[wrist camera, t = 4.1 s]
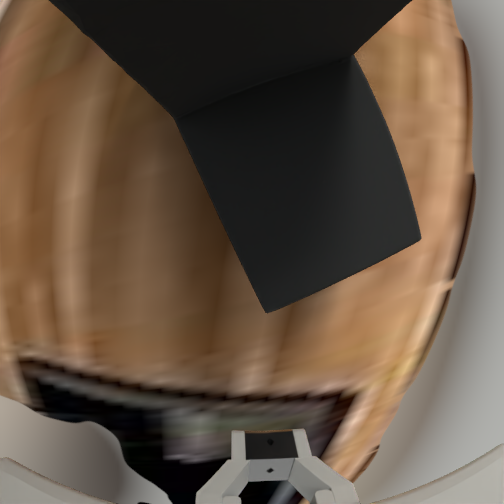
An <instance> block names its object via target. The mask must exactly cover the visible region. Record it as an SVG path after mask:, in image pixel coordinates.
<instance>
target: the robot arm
mask: <svg viewBox="0 0 504 504" xmlns="http://www.w3.org/2000/svg"><path fill="white" fill-rule="evenodd" d="M274 480H288V481H289V482H290V483H291V484H292V485H293V486H294V487H295V488H296V489H297V490H298V491H299V492H300V493H301V494H302V495H303V496H304V497H305V498H306V499H307V500H308V501H309V502H310V504H360V501H359V498H358V496H357V493H356V490H355V488H354V485H353V483H351V482H350V481H348V480H347V479H346V478H344V477H343V476H341V475H340V474H339V473H337V472H336V471H334V470H333V469H332V468H330V467H329V466H328V465H326V464H325V463H324V462H322V461H321V460H320V459H318V458H317V457H316V456H312V454H311V451H310V447H309V443H308V440H307V436H306V432H305V430H304V429H292V430H291V429H289V430H271V431H238V430H232V443H231V460H227V461H226V463H225V464H224V465H223V466H222V467H221V468H220V469H219V470H218V471H217V472H216V473H215V474H214V476H213V477H212V478H211V479H210V480H209V481H208V482H207V483H206V484H205V485H204V486H203V487H202V488H201V489H200V490H199V491H198V492H197V494H196V504H241V498H239V497H238V495H239V494H240V493H241V491H242V490H243V488H244V487H245V486H246V484H247V483H248V482H249V481H274ZM0 504H117V503H113V502H109V501H106V500H103V499H100V498H96V497H94V496H91V495H88V494H85V493H82V492H80V491H77V490H75V489H72V488H69V487H67V486H64V485H62V484H60V483H57V482H55V481H53V480H51V479H49V478H46V477H44V476H42V475H40V474H38V473H36V472H34V471H32V470H30V469H28V468H27V467H25V466H23V465H21V464H19V463H18V462H16V461H14V460H12V459H10V458H7V457H5V458H0ZM370 504H504V444H500V445H498V446H497V447H495V448H494V449H492V450H490V451H489V452H487V453H486V454H484V455H482V456H481V457H479V458H477V459H475V460H474V461H472V462H470V463H468V464H466V465H465V466H463V467H461V468H459V469H457V470H455V471H453V472H451V473H449V474H447V475H445V476H443V477H441V478H439V479H436V480H434V481H432V482H430V483H427V484H425V485H422V486H420V487H418V488H415V489H412V490H410V491H407V492H404V493H402V494H399V495H396V496H393V497H390V498H387V499H384V500H380V501H377V502H374V503H370Z"/></svg>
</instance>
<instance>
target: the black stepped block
mask: <svg viewBox="0 0 504 504" xmlns="http://www.w3.org/2000/svg"><path fill="white" fill-rule="evenodd" d="M49 1H50V2H51V3H52V4H54V5H55V6H56V7H57V8H58V9H59V10H60V11H62V12H63V13H64V14H65V15H66V16H67V17H68V18H69V19H70V20H71V21H72V22H73V23H74V24H75V25H76V26H77V27H78V28H79V29H80V30H81V31H82V32H83V33H84V34H85V35H87V36H88V37H90V38H91V39H92V40H93V41H94V42H95V43H96V44H97V45H98V46H99V47H100V48H101V49H102V50H103V51H104V52H105V53H106V54H107V55H108V56H109V57H110V58H111V59H112V60H113V61H115V62H116V63H117V64H118V65H119V66H121V67H122V68H123V69H124V71H125V72H126V73H127V74H128V75H129V76H131V77H132V78H133V79H134V80H135V81H136V82H137V83H138V84H140V85H141V86H142V87H143V88H144V89H145V90H146V91H147V92H148V93H149V94H150V95H151V96H152V97H153V98H154V99H155V100H156V101H157V102H159V103H160V104H161V105H162V106H163V108H164V109H165V110H166V111H167V112H168V113H169V114H170V115H171V116H172V117H173V118H174V120H175V122H176V124H177V126H178V129H179V131H180V133H181V135H182V138H183V140H184V142H185V144H186V146H187V148H188V150H189V152H190V155H191V157H192V159H193V161H194V163H195V165H196V168H197V170H198V172H199V174H200V176H201V179H202V181H203V183H204V185H205V187H206V189H207V192H208V194H209V196H210V198H211V200H212V202H213V205H214V207H215V209H216V211H217V213H218V215H219V218H220V220H221V222H222V224H223V226H224V228H225V230H226V232H227V235H228V237H229V239H230V241H231V243H232V245H233V247H234V249H235V251H236V254H237V256H238V258H239V260H240V262H241V264H242V266H243V268H244V270H245V272H246V274H247V276H248V279H249V281H250V283H251V285H252V287H253V289H254V291H255V293H256V295H257V297H258V299H259V301H260V303H261V305H262V307H263V309H264V311H265V312H266V313H270V312H272V311H275V310H277V309H280V308H282V307H285V306H287V305H289V304H291V303H294V302H296V301H298V300H300V299H303V298H305V297H307V296H310V295H312V294H314V293H316V292H318V291H320V290H322V289H325V288H327V287H329V286H331V285H333V284H335V283H337V282H339V281H342V280H344V279H346V278H348V277H350V276H352V275H354V274H356V273H358V272H360V271H362V270H364V269H366V268H368V267H370V266H372V265H374V264H376V263H378V262H380V261H382V260H384V259H386V258H388V257H390V256H392V255H394V254H396V253H398V252H399V251H401V250H403V249H405V248H407V247H409V246H411V245H413V244H415V243H416V242H418V241H420V240H421V234H420V229H419V225H418V221H417V216H416V212H415V208H414V205H413V201H412V197H411V194H410V190H409V187H408V184H407V180H406V177H405V174H404V171H403V168H402V165H401V162H400V159H399V156H398V153H397V150H396V147H395V144H394V142H393V139H392V136H391V134H390V131H389V129H388V126H387V124H386V121H385V119H384V117H383V114H382V112H381V110H380V108H379V105H378V103H377V101H376V99H375V96H374V94H373V92H372V90H371V88H370V86H369V84H368V81H367V79H366V77H365V75H364V73H363V71H362V69H361V68H360V66H359V64H358V62H357V60H356V58H355V56H354V55H353V54H354V53H355V52H357V51H358V49H359V48H360V47H361V46H362V45H363V44H364V43H366V42H367V41H368V40H369V39H370V38H371V37H372V36H373V35H374V34H375V33H376V32H377V31H379V30H380V29H381V28H382V27H383V26H384V25H385V24H386V23H387V22H388V21H389V20H391V19H392V18H393V17H394V16H395V15H396V14H397V13H398V12H400V11H401V10H402V9H403V8H404V7H405V6H406V5H407V4H408V3H410V2H411V1H412V0H49Z"/></svg>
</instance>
